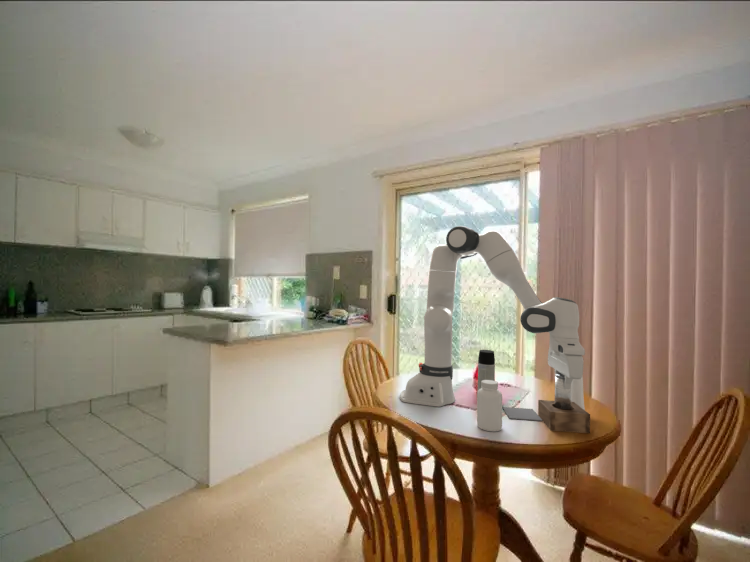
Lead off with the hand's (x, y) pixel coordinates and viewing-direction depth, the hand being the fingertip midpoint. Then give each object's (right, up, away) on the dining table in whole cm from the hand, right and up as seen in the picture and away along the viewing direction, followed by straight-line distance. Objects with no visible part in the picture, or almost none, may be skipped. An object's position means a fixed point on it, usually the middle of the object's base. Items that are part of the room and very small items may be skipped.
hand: (563, 385), depth 116 cm
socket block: (0, -13, 0) cm, 13 cm away
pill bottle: (-26, -13, -3) cm, 30 cm away
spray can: (-18, -14, +25) cm, 34 cm away
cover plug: (0, -7, 0) cm, 7 cm away
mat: (-11, -13, +8) cm, 19 cm away
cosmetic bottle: (+10, -14, +9) cm, 19 cm away
